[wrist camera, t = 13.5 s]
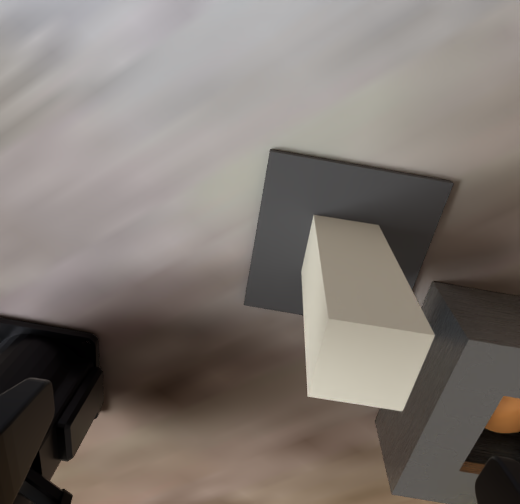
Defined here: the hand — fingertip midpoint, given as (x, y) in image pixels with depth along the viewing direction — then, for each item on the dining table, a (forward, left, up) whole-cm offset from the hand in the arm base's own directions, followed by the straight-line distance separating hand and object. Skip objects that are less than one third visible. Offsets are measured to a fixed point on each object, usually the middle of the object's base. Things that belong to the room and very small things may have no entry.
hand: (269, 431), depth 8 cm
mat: (+3, -1, -12) cm, 12 cm away
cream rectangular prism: (+3, -1, -12) cm, 12 cm away
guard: (+13, -7, -12) cm, 19 cm away
